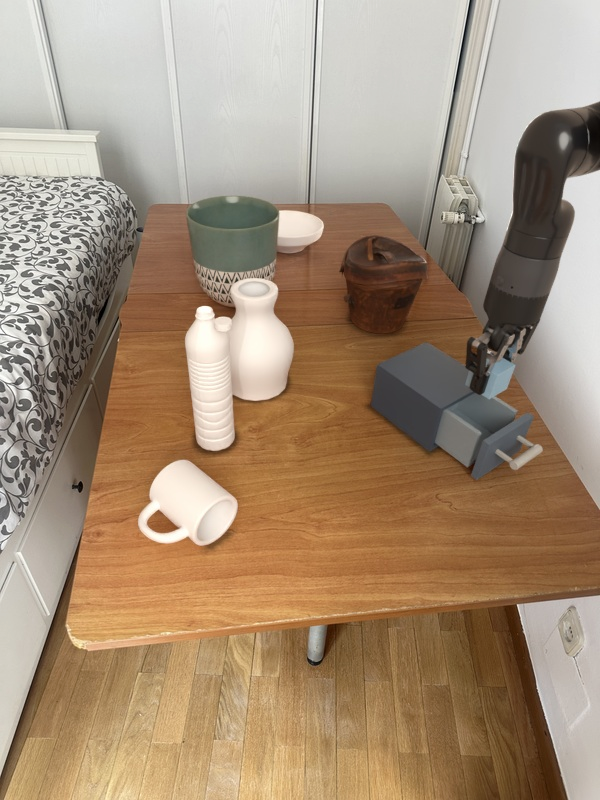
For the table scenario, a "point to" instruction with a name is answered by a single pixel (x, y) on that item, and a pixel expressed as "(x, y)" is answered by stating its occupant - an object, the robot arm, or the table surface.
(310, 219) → the bowl
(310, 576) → the table surface
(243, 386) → the vase
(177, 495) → the mug
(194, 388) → the water bottle
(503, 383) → the block
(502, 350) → the robot arm
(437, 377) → the cabinet
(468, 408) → the drawer
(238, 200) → the planter
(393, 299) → the case
